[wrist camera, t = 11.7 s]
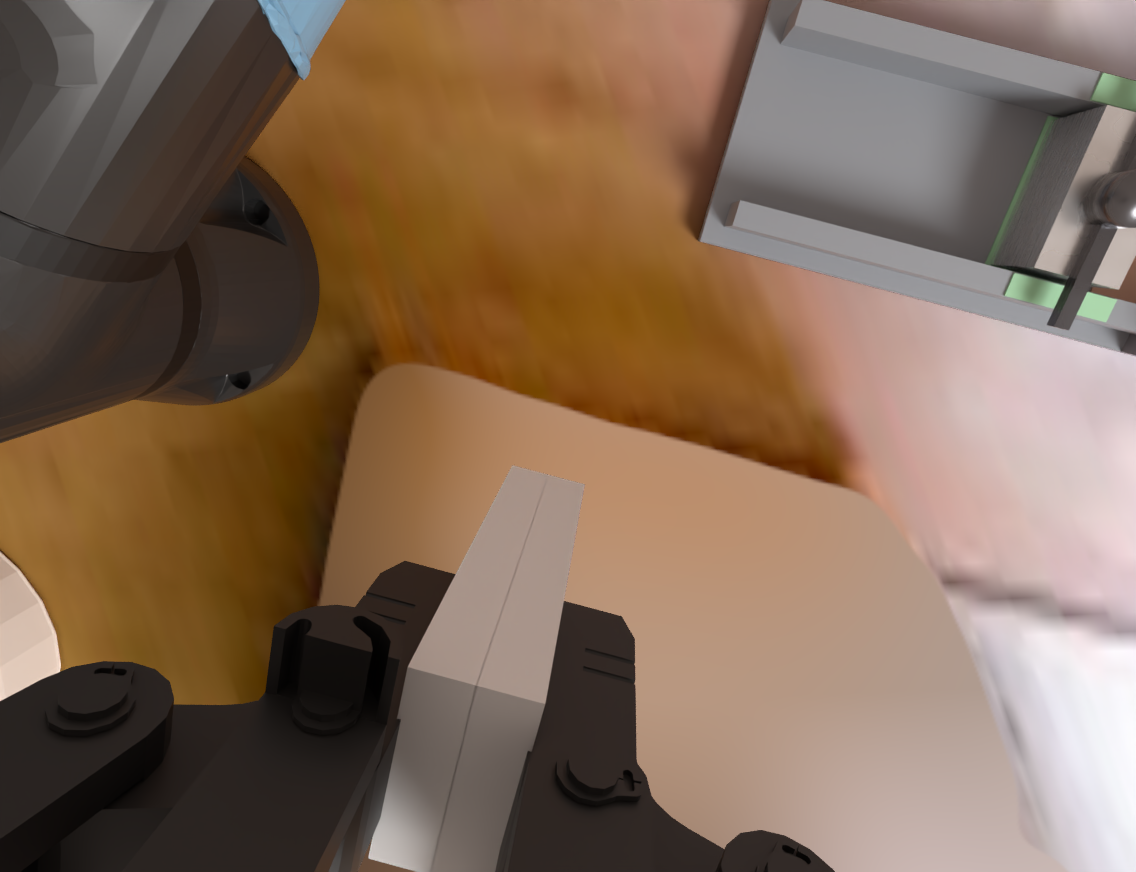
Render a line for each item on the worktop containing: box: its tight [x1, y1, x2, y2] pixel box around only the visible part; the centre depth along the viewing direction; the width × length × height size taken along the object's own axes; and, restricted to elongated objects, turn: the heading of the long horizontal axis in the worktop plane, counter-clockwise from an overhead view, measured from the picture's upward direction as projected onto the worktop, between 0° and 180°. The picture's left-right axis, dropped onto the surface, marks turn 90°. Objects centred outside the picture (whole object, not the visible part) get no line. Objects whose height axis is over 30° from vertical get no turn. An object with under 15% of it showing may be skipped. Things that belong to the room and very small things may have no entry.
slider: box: [989, 105, 1136, 331], centre depth 31 cm, size 4×12×6 cm, turn 166°
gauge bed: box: [698, 0, 1136, 356], centre depth 31 cm, size 26×12×7 cm, turn 76°
